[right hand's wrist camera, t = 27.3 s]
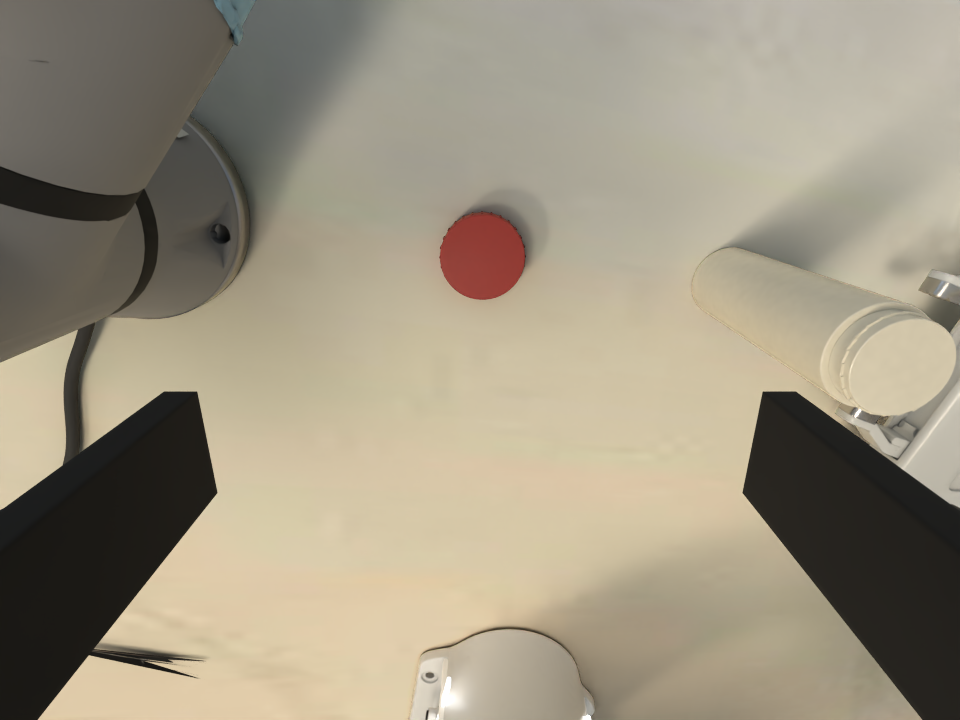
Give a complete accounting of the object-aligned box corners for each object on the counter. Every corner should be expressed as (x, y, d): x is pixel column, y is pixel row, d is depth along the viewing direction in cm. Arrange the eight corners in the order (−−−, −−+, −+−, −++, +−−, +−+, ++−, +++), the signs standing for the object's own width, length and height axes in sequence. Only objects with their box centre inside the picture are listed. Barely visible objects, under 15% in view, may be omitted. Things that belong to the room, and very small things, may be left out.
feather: (-68, 610, 53) (-87, 615, 51) (215, 659, 54) (207, 667, 52) (-75, 628, 53) (-94, 635, 51) (210, 678, 54) (202, 686, 52)
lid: (536, 227, 39) (538, 230, 37) (507, 305, 41) (508, 311, 39) (455, 199, 38) (454, 201, 37) (430, 280, 40) (428, 285, 39)
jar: (678, 274, 40) (821, 356, 23) (743, 232, 39) (941, 286, 22) (711, 329, 42) (867, 443, 25) (774, 290, 41) (982, 381, 24)
